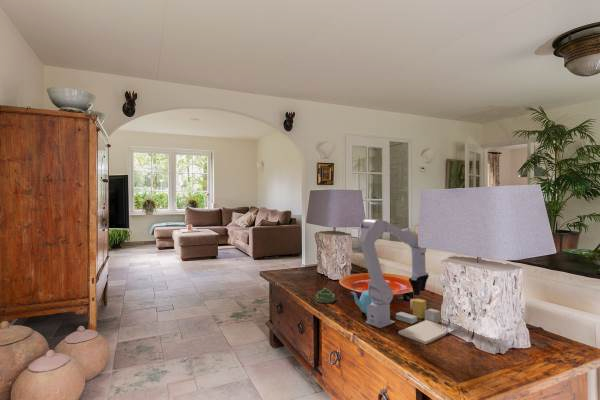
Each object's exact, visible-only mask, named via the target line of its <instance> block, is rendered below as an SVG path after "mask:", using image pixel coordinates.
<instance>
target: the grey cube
mask: <svg viewBox="0 0 600 400" xmlns="http://www.w3.org/2000/svg"><path fill="white" fill-rule="evenodd" d="M425 320H428V321H431V322H434V323H437V324H440V323H441V322H440V321H442V318H441V310H438V309H434V308H429V309H426V310H425V317H424V321H425Z"/></svg>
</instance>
